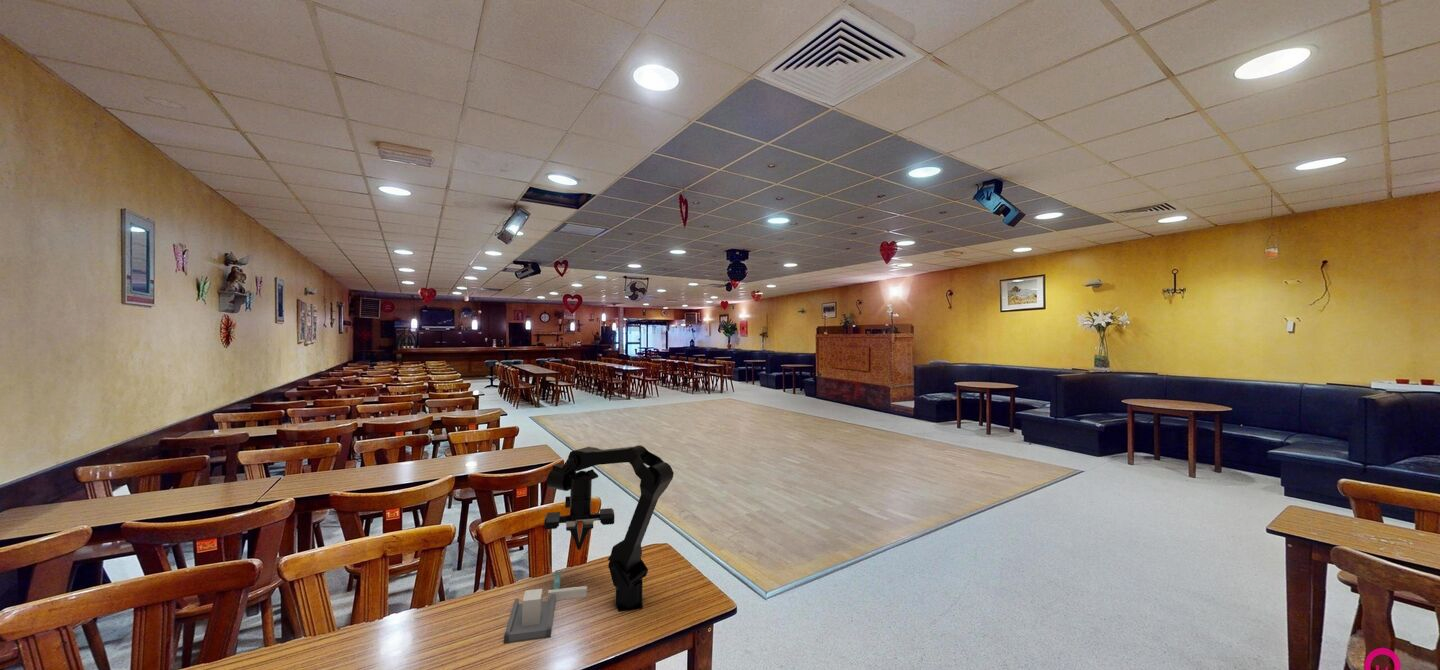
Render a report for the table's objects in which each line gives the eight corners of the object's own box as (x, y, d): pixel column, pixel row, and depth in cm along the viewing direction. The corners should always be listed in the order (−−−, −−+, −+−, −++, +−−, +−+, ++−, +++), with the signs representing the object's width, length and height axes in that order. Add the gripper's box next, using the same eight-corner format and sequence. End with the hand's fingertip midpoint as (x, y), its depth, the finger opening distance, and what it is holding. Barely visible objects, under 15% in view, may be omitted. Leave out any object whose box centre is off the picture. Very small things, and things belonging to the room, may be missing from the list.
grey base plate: (555, 601, 124) (555, 594, 124) (550, 638, 109) (550, 629, 109) (514, 606, 121) (515, 598, 122) (503, 644, 106) (504, 635, 106)
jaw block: (541, 612, 118) (542, 588, 118) (539, 624, 113) (540, 599, 113) (524, 614, 117) (525, 590, 117) (521, 626, 112) (522, 601, 112)
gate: (587, 581, 135) (587, 567, 135) (586, 596, 127) (587, 581, 127) (550, 585, 132) (550, 571, 132) (547, 601, 124) (548, 586, 124)
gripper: (613, 483, 142) (611, 535, 142) (548, 486, 137) (546, 540, 137) (615, 494, 132) (613, 550, 131) (544, 498, 126) (542, 557, 126)
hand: (579, 549), depth 131 cm, fingers closed
